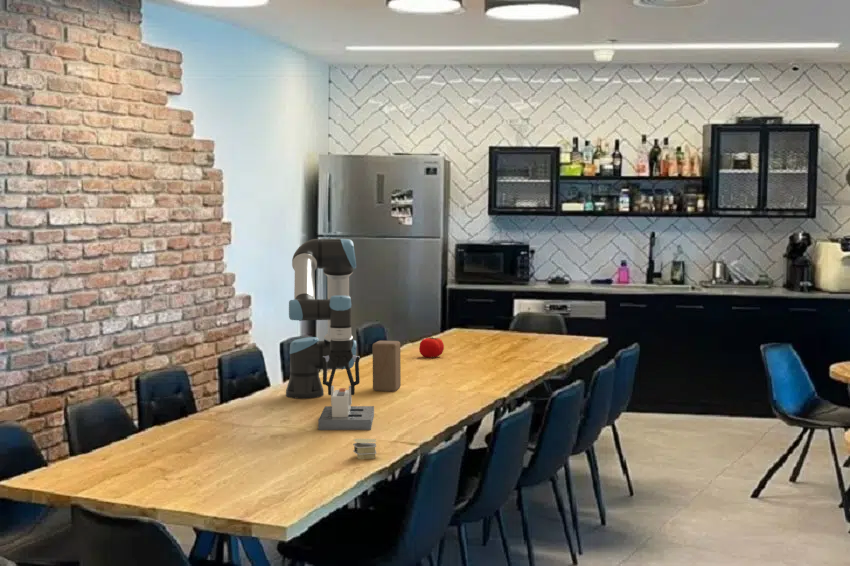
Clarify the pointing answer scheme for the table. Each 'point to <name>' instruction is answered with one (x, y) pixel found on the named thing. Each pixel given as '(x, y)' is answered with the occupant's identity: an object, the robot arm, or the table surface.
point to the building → (365, 448)
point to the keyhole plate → (347, 419)
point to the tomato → (431, 347)
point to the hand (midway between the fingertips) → (341, 404)
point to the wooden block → (386, 366)
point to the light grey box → (340, 403)
